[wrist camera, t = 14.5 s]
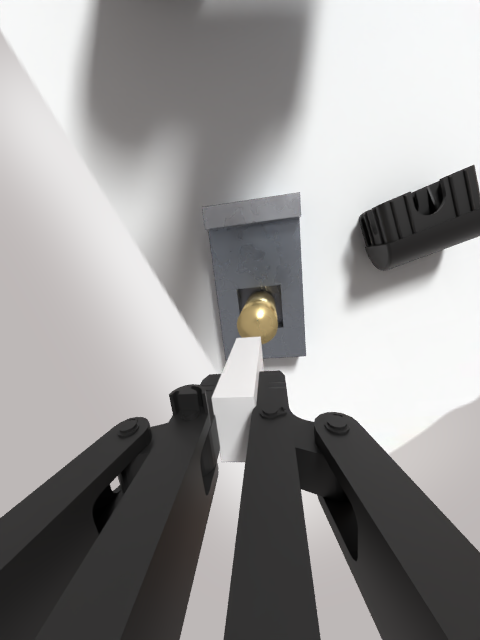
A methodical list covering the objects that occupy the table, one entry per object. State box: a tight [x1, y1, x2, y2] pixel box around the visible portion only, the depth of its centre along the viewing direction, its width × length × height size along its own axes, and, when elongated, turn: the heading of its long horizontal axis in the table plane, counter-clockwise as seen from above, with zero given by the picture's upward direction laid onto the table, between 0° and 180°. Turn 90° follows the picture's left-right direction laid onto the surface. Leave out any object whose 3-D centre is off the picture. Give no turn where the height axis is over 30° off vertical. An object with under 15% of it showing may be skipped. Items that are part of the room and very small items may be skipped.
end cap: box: [359, 165, 480, 271], centre depth 26 cm, size 10×7×7 cm
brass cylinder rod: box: [237, 291, 278, 344], centre depth 28 cm, size 4×4×10 cm
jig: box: [202, 192, 306, 360], centre depth 31 cm, size 20×11×5 cm, turn 6°
